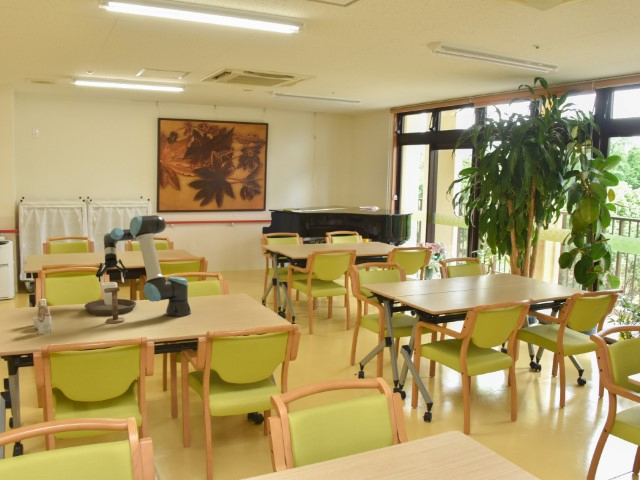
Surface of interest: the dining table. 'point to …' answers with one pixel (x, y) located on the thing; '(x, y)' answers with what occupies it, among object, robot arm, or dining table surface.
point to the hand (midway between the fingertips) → (112, 284)
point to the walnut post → (114, 306)
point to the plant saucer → (109, 307)
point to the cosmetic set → (43, 318)
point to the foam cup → (109, 295)
